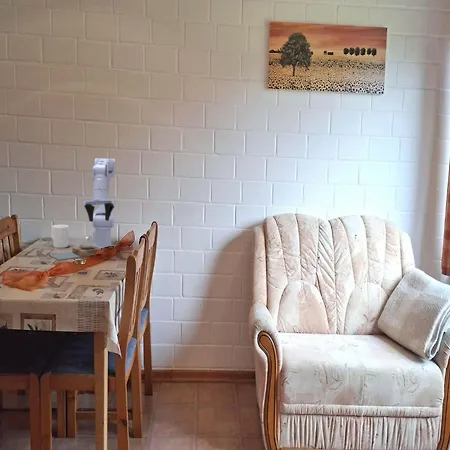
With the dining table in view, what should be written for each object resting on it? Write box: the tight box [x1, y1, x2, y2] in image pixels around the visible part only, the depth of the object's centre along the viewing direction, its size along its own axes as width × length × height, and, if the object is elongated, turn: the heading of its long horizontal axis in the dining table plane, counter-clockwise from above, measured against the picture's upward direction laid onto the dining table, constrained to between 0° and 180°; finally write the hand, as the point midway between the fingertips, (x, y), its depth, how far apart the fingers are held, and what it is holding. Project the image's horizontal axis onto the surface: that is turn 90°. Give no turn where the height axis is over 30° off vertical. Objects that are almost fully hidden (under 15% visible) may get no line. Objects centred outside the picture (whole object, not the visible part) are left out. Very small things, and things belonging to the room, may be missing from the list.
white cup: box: [51, 224, 70, 249], centre depth 258 cm, size 8×8×10 cm
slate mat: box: [49, 251, 81, 261], centre depth 240 cm, size 10×10×1 cm
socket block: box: [71, 245, 101, 258], centre depth 247 cm, size 10×10×2 cm
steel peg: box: [82, 235, 93, 250], centre depth 246 cm, size 4×4×8 cm
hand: (98, 220), depth 237 cm, fingers open, 7 cm apart
